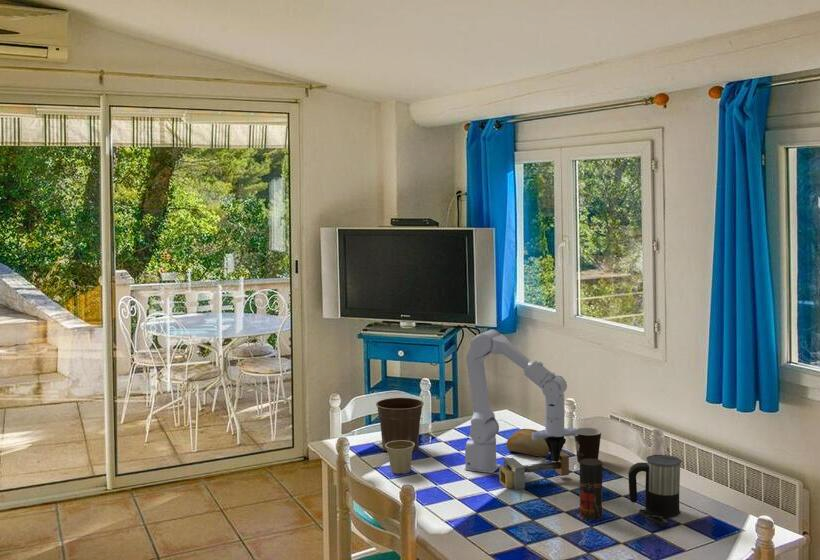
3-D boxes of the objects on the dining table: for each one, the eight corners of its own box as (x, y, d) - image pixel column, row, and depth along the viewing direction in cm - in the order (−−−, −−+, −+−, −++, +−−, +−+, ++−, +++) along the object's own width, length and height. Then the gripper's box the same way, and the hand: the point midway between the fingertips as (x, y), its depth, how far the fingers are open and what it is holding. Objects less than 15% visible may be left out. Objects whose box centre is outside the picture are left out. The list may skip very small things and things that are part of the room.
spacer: (506, 488, 255) (506, 472, 255) (499, 482, 261) (499, 466, 260) (512, 487, 256) (512, 471, 255) (505, 481, 261) (505, 465, 261)
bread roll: (512, 446, 296) (512, 424, 295) (554, 452, 289) (554, 429, 288) (501, 454, 287) (501, 431, 286) (544, 460, 280) (544, 436, 279)
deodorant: (577, 512, 236) (577, 458, 234) (598, 510, 236) (598, 457, 235) (583, 520, 230) (583, 466, 228) (605, 519, 230) (605, 464, 229)
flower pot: (380, 474, 270) (380, 447, 269) (392, 464, 279) (392, 439, 278) (408, 477, 267) (408, 450, 266) (419, 467, 275) (419, 441, 274)
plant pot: (403, 438, 307) (402, 394, 305) (434, 448, 295) (433, 402, 293) (367, 448, 297) (366, 402, 295) (397, 459, 285) (396, 411, 283)
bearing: (515, 489, 254) (515, 468, 253) (503, 479, 263) (503, 458, 262) (524, 488, 255) (524, 467, 254) (513, 478, 264) (512, 457, 263)
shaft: (520, 480, 257) (520, 461, 256) (515, 475, 261) (514, 456, 260) (568, 475, 261) (568, 455, 260) (562, 470, 265) (562, 451, 264)
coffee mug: (601, 466, 273) (601, 435, 272) (573, 465, 275) (573, 434, 274) (600, 454, 284) (600, 425, 283) (574, 453, 286) (574, 424, 285)
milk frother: (672, 504, 240) (672, 453, 238) (698, 526, 224) (699, 471, 222) (623, 508, 238) (623, 456, 236) (645, 531, 222) (646, 475, 221)
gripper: (537, 422, 254) (538, 467, 256) (582, 418, 258) (582, 462, 259) (528, 416, 261) (528, 459, 263) (572, 412, 265) (572, 455, 266)
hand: (555, 460), depth 262 cm, fingers closed
